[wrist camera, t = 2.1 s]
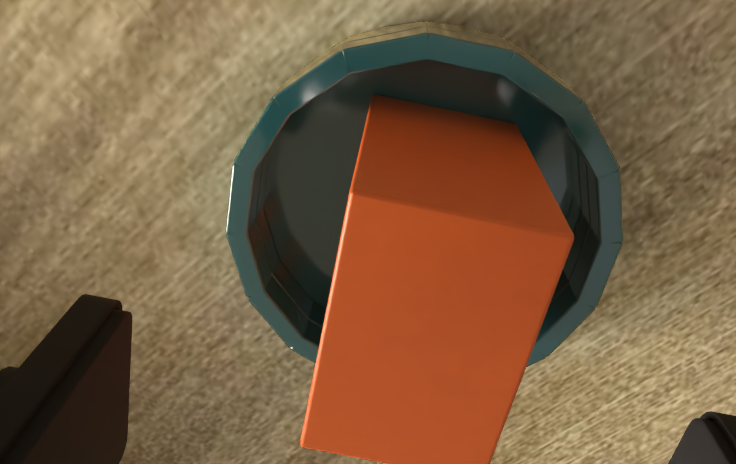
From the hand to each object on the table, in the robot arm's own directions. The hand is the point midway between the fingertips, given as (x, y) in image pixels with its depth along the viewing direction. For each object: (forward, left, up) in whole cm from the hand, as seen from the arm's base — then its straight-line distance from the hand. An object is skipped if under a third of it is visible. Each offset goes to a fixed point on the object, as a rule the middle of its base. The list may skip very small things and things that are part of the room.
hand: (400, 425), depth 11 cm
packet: (0, 0, -9) cm, 9 cm away
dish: (0, 0, -9) cm, 9 cm away
